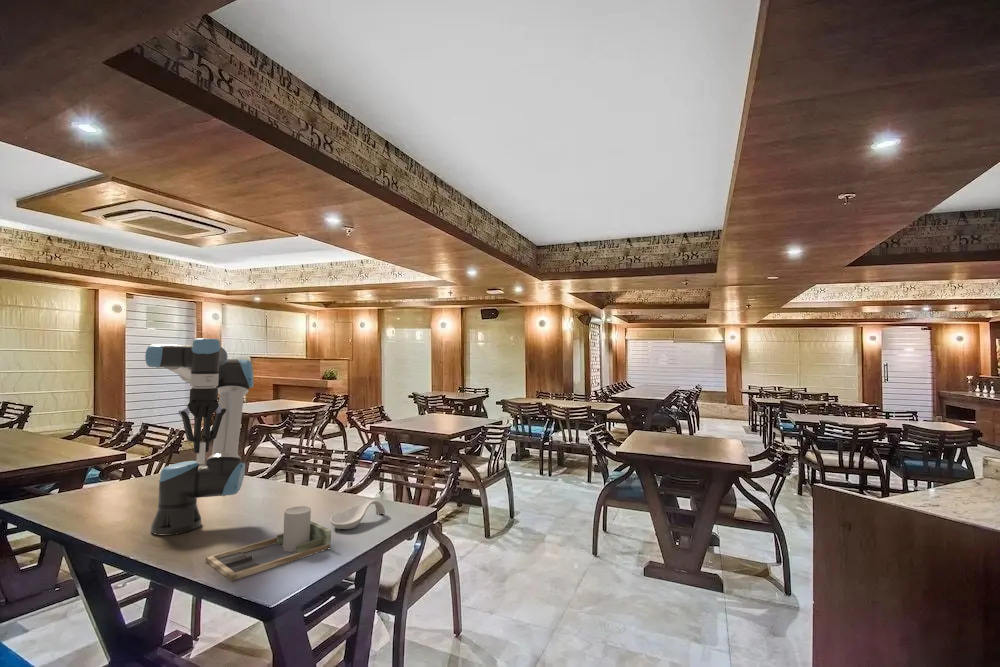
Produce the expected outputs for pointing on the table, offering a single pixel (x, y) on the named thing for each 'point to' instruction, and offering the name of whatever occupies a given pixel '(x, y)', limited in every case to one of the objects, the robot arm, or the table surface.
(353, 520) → the spoon rest
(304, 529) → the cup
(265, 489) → the table surface
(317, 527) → the wooden tray frame
